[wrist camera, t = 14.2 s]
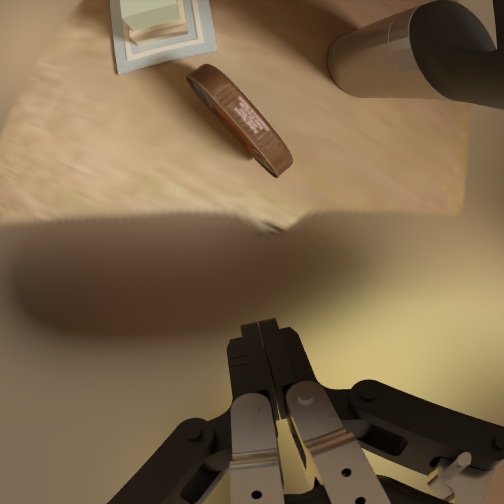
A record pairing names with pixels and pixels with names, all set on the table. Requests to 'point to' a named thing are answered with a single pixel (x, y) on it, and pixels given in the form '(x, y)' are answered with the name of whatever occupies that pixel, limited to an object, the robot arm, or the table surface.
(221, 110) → the tin
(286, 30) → the table surface
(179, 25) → the maple block
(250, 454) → the robot arm
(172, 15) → the sage block
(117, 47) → the light grey flat piece
